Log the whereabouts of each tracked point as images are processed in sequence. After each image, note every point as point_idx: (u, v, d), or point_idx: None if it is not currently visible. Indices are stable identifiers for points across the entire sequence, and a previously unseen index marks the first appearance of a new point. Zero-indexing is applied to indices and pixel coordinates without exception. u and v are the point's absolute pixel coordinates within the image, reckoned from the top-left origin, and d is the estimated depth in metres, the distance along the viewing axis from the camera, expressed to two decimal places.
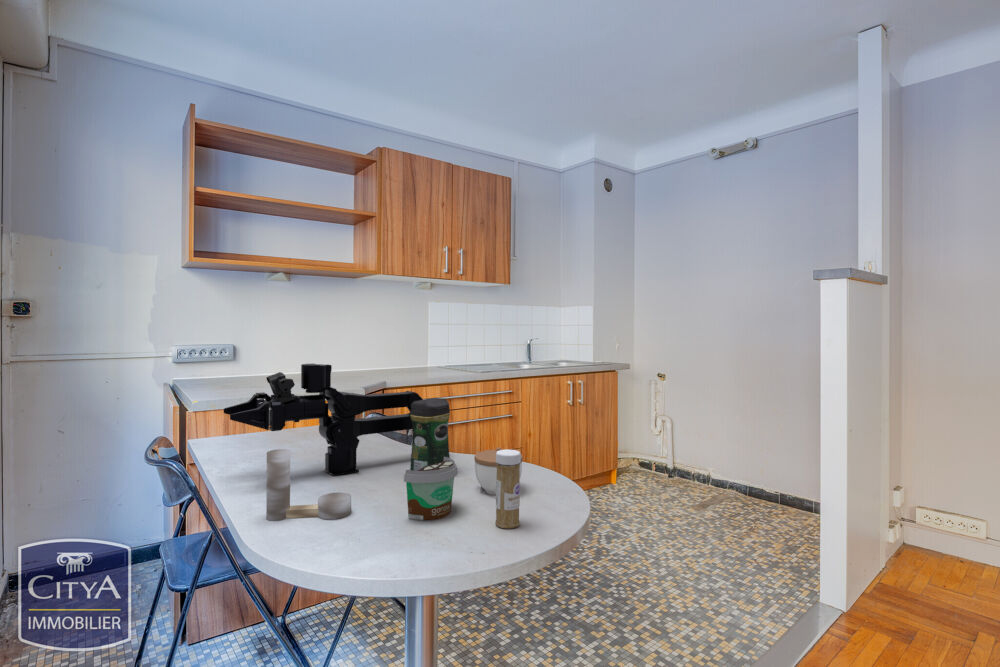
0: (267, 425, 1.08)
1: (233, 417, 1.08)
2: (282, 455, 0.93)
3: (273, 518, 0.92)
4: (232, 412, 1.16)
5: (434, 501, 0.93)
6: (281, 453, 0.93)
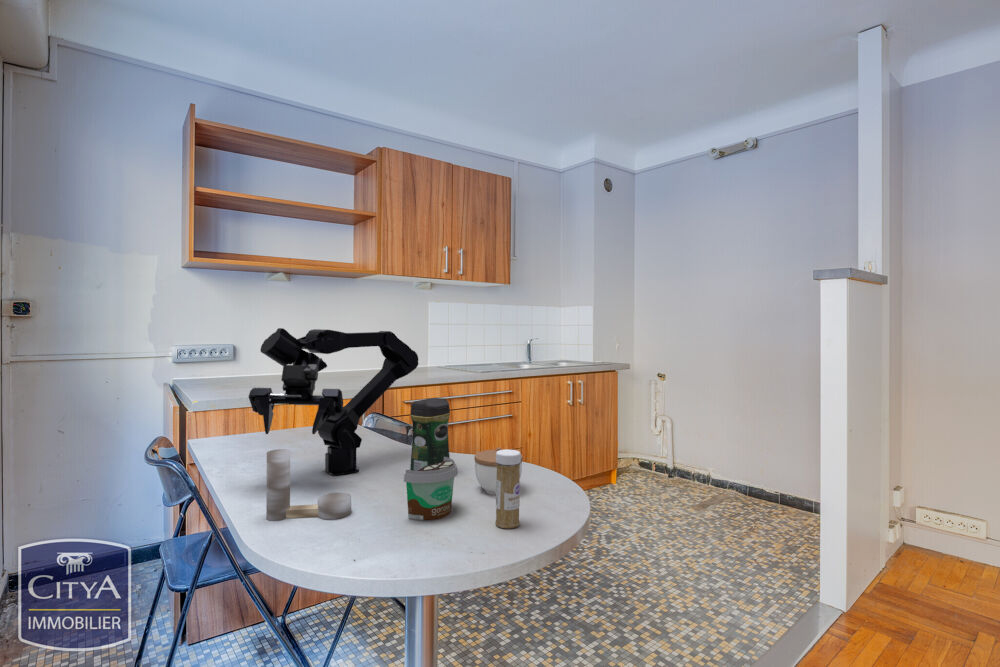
0: (335, 412, 1.13)
1: (314, 430, 1.07)
2: (282, 455, 0.93)
3: (273, 518, 0.92)
4: (269, 427, 1.06)
5: (434, 501, 0.93)
6: (281, 453, 0.93)
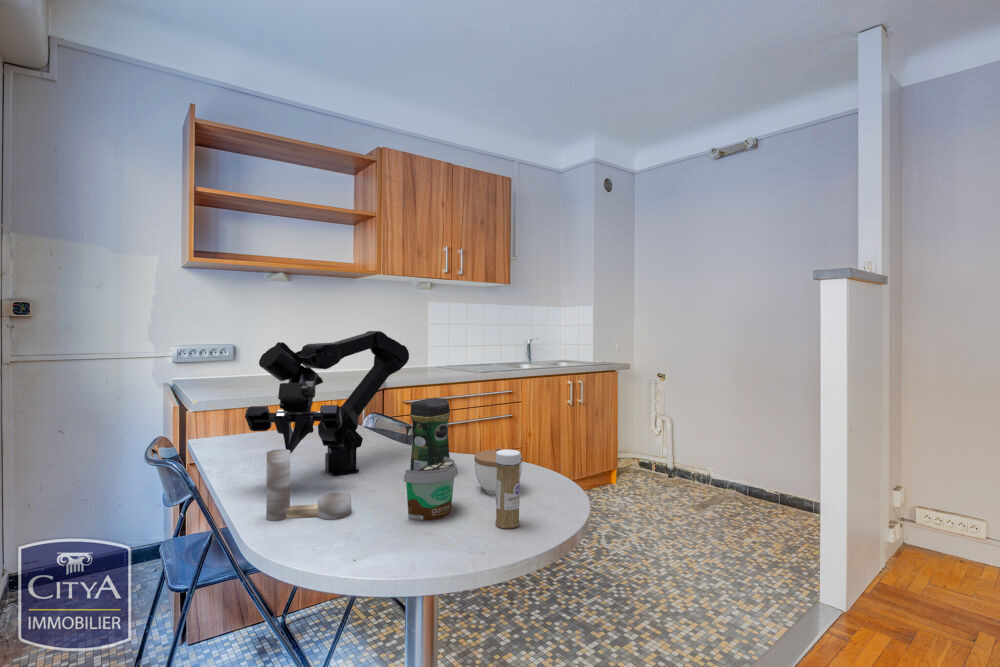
0: (312, 429, 1.10)
1: (291, 449, 1.04)
2: (282, 455, 0.93)
3: (273, 518, 0.92)
4: None
5: (434, 501, 0.93)
6: (281, 453, 0.93)
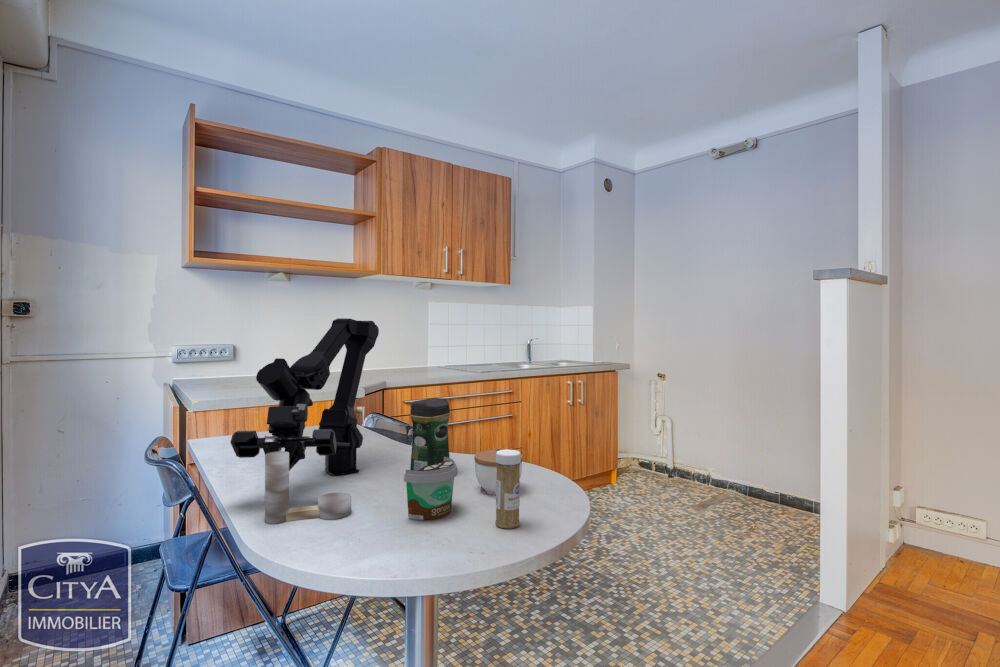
0: (304, 455, 1.01)
1: None
2: (282, 457, 0.91)
3: (273, 521, 0.91)
4: None
5: (434, 501, 0.93)
6: (281, 455, 0.92)
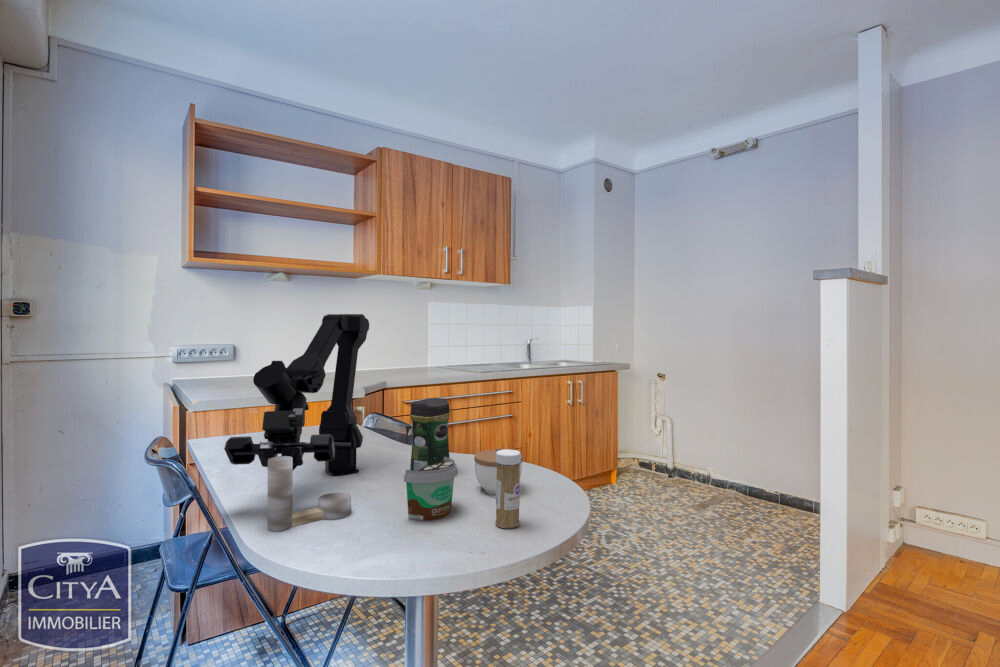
0: (302, 462, 0.97)
1: None
2: (290, 461, 0.89)
3: (281, 528, 0.88)
4: None
5: (434, 501, 0.93)
6: (287, 459, 0.89)
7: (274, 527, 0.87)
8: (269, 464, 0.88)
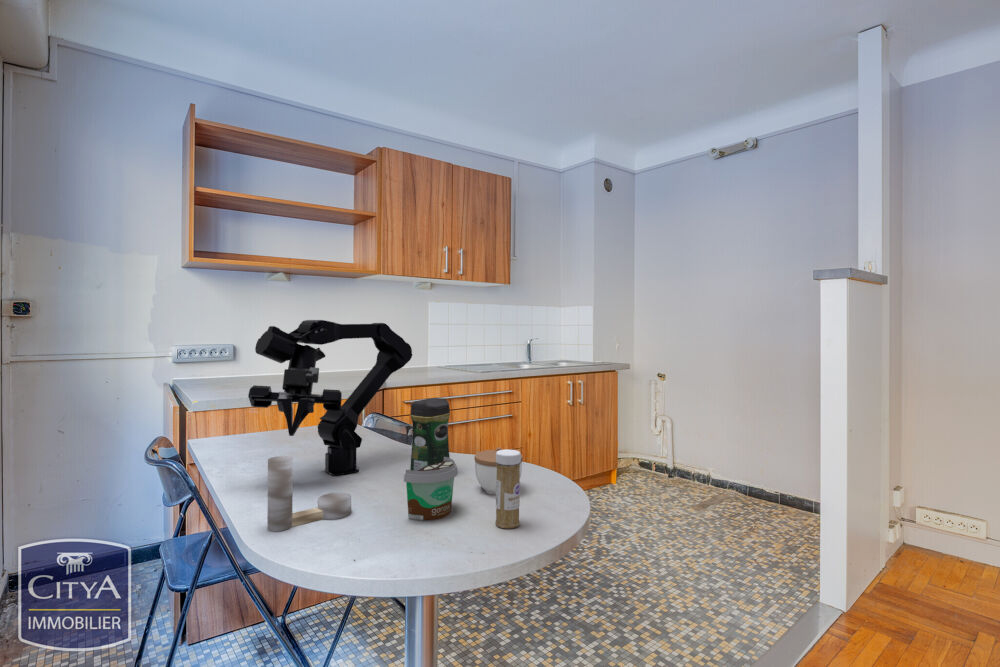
0: (313, 410, 1.14)
1: (293, 432, 1.08)
2: (290, 461, 0.89)
3: (281, 528, 0.88)
4: None
5: (434, 501, 0.93)
6: (287, 459, 0.89)
7: (274, 527, 0.87)
8: (269, 464, 0.88)
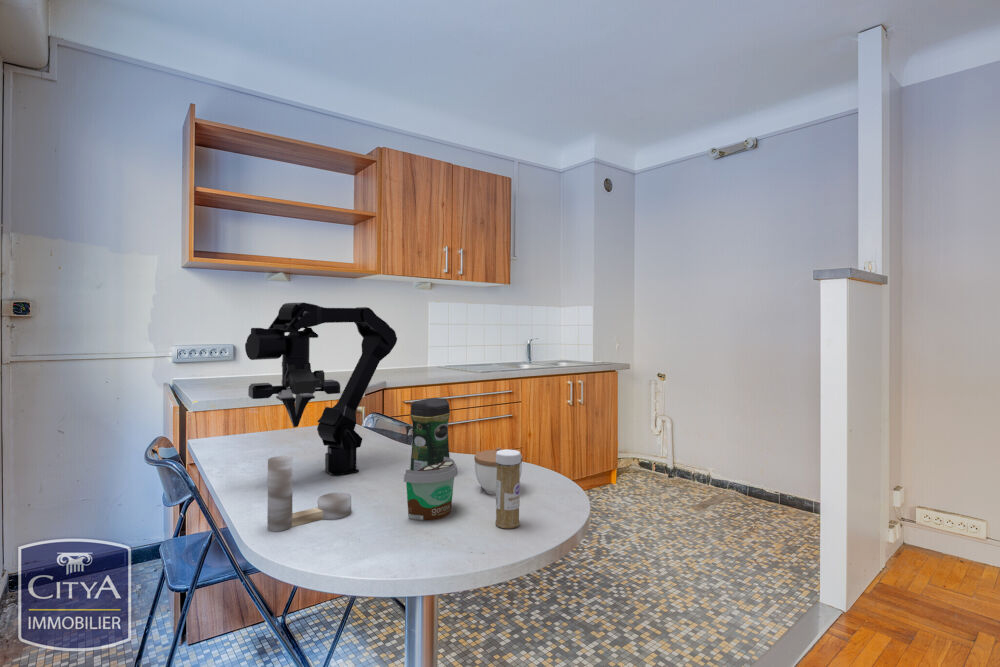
0: None
1: None
2: (290, 461, 0.89)
3: (281, 528, 0.88)
4: None
5: (434, 501, 0.93)
6: (287, 459, 0.89)
7: (274, 527, 0.87)
8: (269, 464, 0.88)
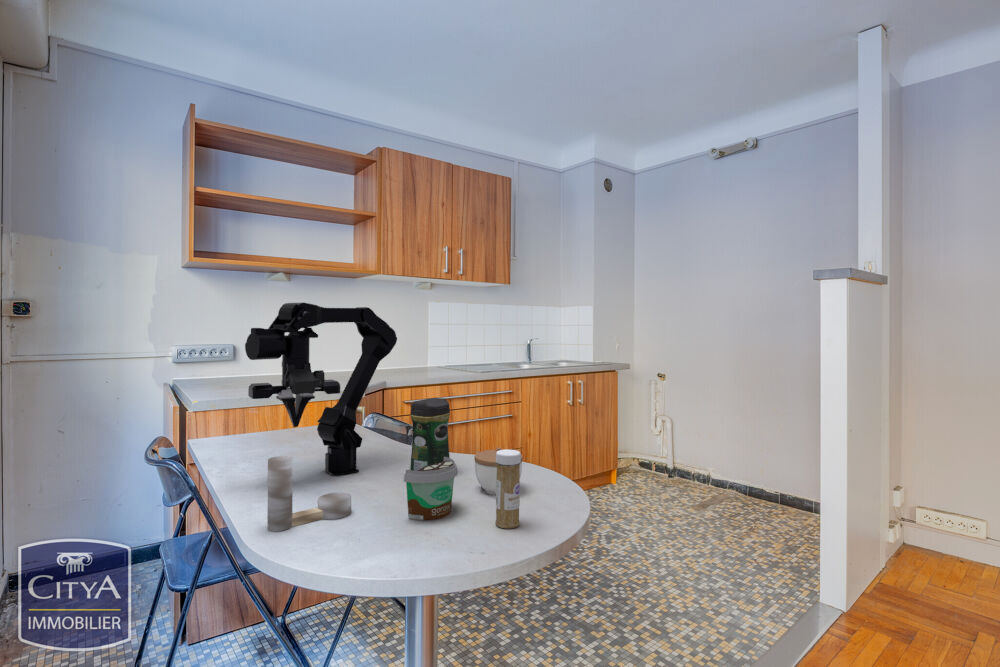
0: None
1: None
2: (290, 461, 0.89)
3: (281, 528, 0.88)
4: None
5: (434, 501, 0.93)
6: (287, 459, 0.89)
7: (274, 527, 0.87)
8: (269, 464, 0.88)
